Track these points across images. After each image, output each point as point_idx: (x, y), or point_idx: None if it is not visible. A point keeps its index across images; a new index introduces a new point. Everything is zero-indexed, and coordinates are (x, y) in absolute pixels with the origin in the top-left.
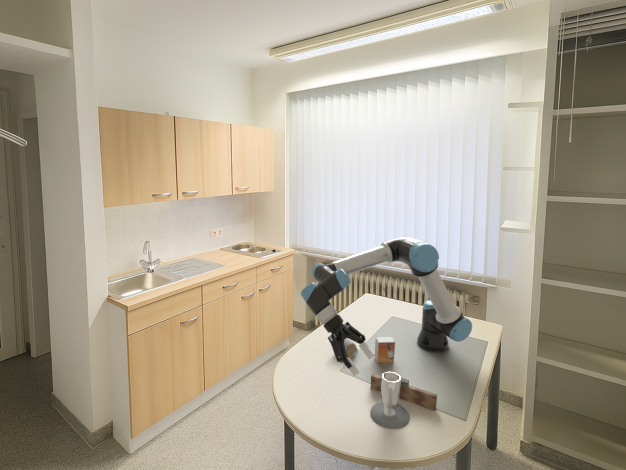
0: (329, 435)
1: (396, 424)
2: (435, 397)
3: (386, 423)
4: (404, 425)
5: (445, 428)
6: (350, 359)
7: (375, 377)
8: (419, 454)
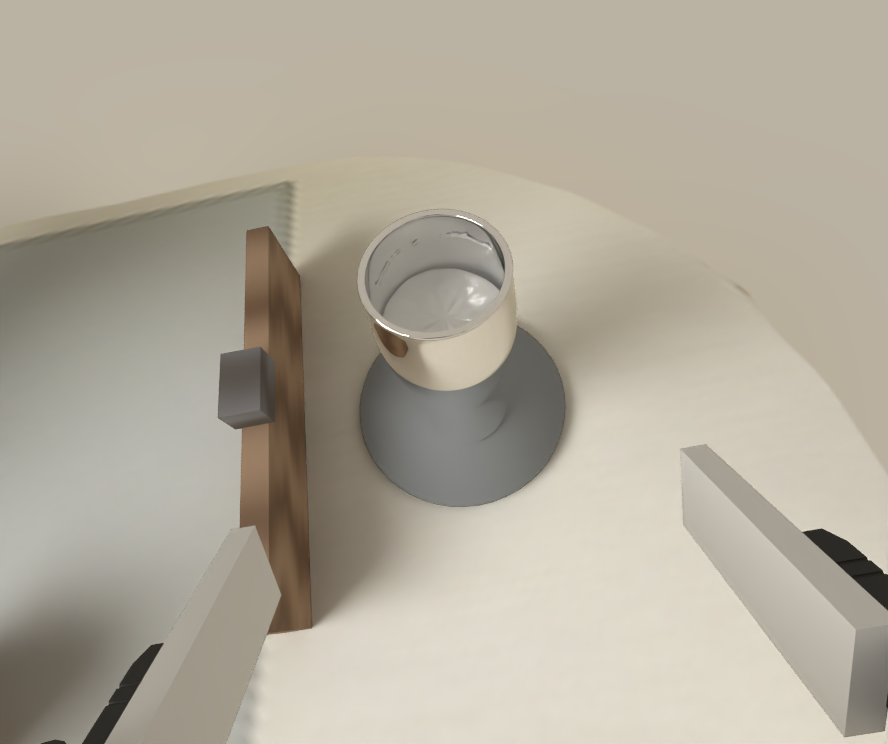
0: None
1: None
2: (270, 232)
3: (540, 373)
4: None
5: (382, 208)
6: (814, 583)
7: None
8: (588, 208)
